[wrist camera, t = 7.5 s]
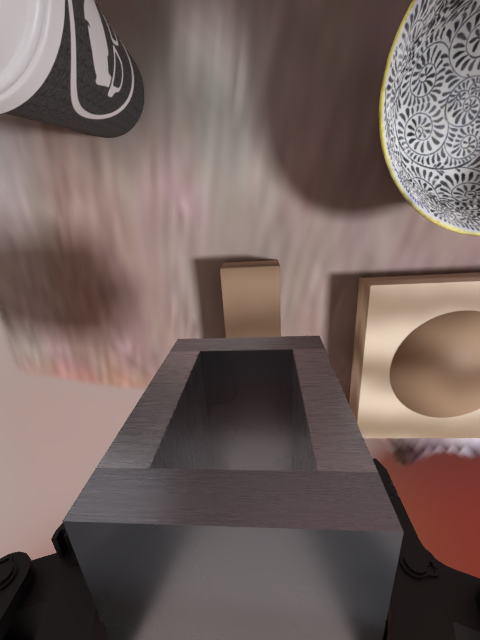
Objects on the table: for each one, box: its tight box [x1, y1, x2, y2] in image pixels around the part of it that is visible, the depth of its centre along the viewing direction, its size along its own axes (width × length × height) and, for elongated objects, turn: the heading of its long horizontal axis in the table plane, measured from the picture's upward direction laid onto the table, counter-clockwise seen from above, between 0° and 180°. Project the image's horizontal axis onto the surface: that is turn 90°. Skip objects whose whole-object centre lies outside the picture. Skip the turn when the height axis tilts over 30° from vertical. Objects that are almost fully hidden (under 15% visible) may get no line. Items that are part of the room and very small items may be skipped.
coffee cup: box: [0, 0, 144, 138], centre depth 17 cm, size 10×10×15 cm
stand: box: [220, 260, 281, 338], centre depth 28 cm, size 10×5×3 cm, turn 3°
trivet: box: [349, 272, 480, 438], centre depth 29 cm, size 16×16×3 cm
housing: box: [63, 336, 404, 640], centre depth 11 cm, size 9×6×8 cm, turn 3°
